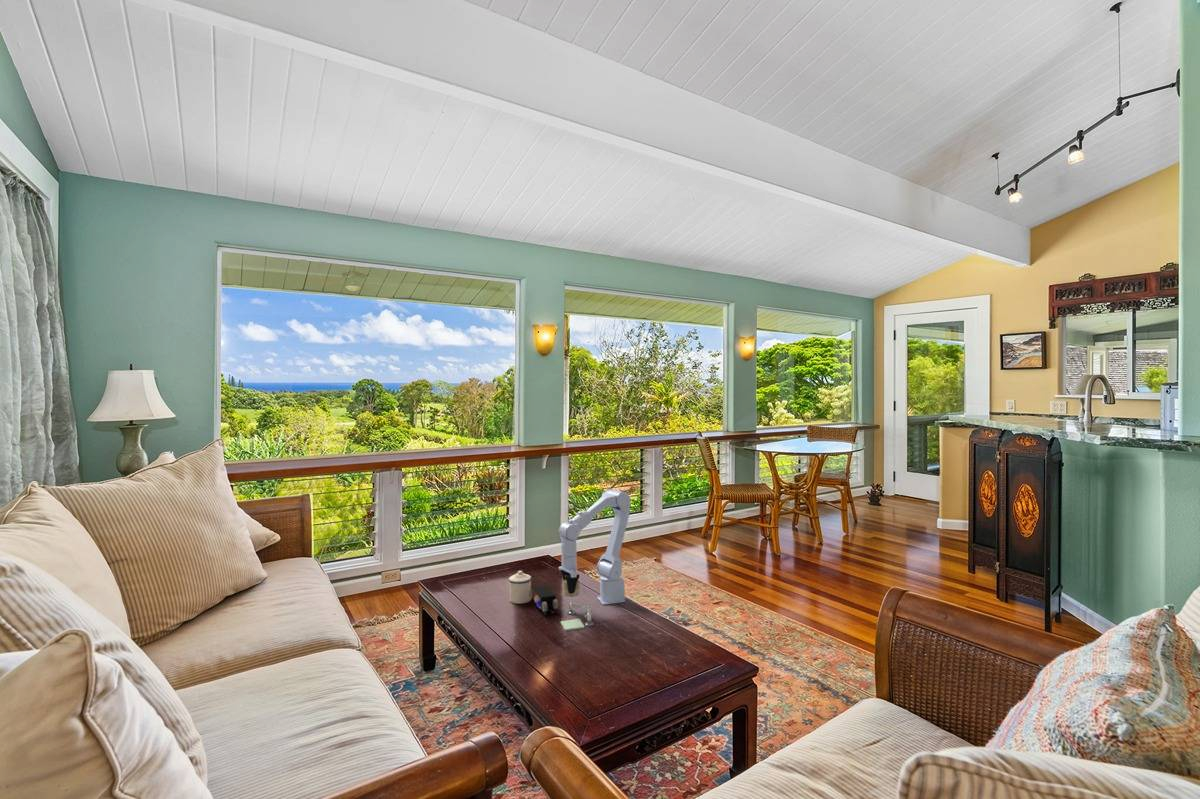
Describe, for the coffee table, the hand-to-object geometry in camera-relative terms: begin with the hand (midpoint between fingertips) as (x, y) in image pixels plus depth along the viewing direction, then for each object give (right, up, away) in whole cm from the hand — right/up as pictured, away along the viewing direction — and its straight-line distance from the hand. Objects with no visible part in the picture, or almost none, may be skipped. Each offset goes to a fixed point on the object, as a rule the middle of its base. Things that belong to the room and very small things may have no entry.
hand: (569, 590), depth 209 cm
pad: (+2, -9, -12) cm, 15 cm away
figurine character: (-10, -9, +3) cm, 14 cm away
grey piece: (+5, -8, -5) cm, 11 cm away
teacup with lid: (-21, -9, +15) cm, 27 cm away
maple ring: (+1, -2, 0) cm, 2 cm away
